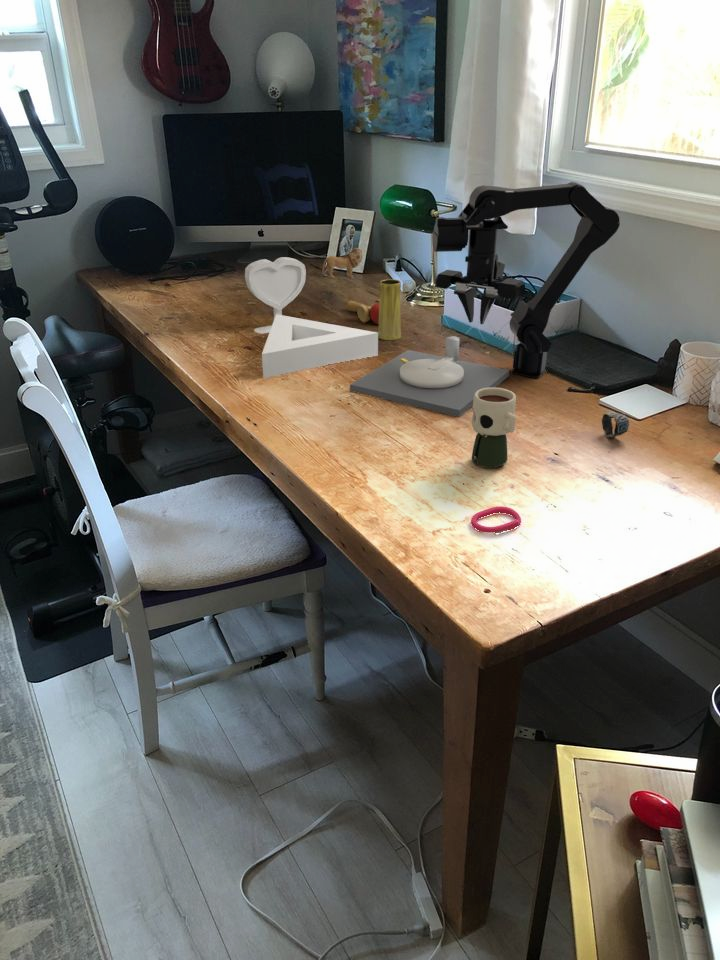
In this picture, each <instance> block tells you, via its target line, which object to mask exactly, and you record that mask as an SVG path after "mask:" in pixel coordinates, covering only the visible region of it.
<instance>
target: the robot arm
mask: <svg viewBox="0 0 720 960" xmlns="http://www.w3.org/2000/svg"><path fill="white" fill-rule="evenodd" d="M569 205H570V206H571V208H573V210H574V212H575V213H576V214H577V215H578V216H579V217H580V218H581V219H580V220H579V222H578V224H577V226H576V230H575V235H574V238H573V241H572V242H571V243H570V245H569V247H568V248H567V250H566V251H565V253H564V254H563V255H562V257H561V258H560V260H559V261H558V262H557V264H556V266H555V267H554V269H553V270H552V271H551V273H550V274H549V276H547V278H546V280H545V281H544V283H543V284H542V286H541V287H540V288H539V290H538V291H537V293H536V294H535V296H534V297H533V298H531V299H530V300H529V301H528V302H525V301H524V300H519V303H518V304H517V307H516V309H515V310H513V312H511V313H510V316H511V318H510V319H509V330H510V332H511V333H512V334H513V335H514V336H515V338H516V340H517V341H518V342H519V343H518V344H517V345H516V350H514V351H513V358H512V359H513V360H512V370H511V374H515V375H520V376H524V377H527V378H533V379H539V378H540V377H541V376H543V375H544V374H545V373H546V372H547V371H546V369H545V367H546V368H547V357H548V352H549V350H550V348H551V346H552V345H553V344H552V342H551V341H550V339H548V338H547V336H546V335H545V334H544V332H545V330H546V328H547V326H548V323H549V319H550V317H551V311H552V310H553V308H554V307H555V305H556V304H557V303H558V301H559V300H560V299H561V297H562V296H563V294H564V292H566V290H567V288H568V287H569V286H570V285H571V283H572V281H573V280H574V279H575V278H576V276H577V274H579V272H580V270H581V269H582V268H583V266H584V265H585V263H586V262H587V260H588V259H589V257H590V256H591V254H593V253H594V252H595V251H597V250H598V249H600V248H601V247H602V246H604V245H605V244H607V242H608V241H609V240H610V239H611V238H612V237H613V236H614V235H615V234H616V232H618V230H619V228H620V226H621V223H620V216H619V214H618V213H617V212H616V210H614V209H611V208H609V207H607V206H605V205H603V204H602V203H601V202H600V201H598V199H597V198H595V197H594V196H593V195H592V194H591V193H590V192H589V191H588V190H587V188H586V186H584V185H582V184H580V183H578V182H576V181H572V182H571V181H570V182H568V183H561V184H552V185H541V186H531V187H523V188H522V187H521V188H507V187H501V186H493V185H479V186H477V187H475V188H474V189H473V190H472V192H471V194H470V195H469V199H468V202H467V204H466V206H465V207H463V209H462V211H461V212H460V213H459V215H458V217H444V216H437V217H435V224H434V227H433V231H432V235H431V236H432V238H431V239H432V240H431V241H432V248H433V251H434V253H436V252H437V253H439V252H440V253H441V252H443V253H444V252H462V251H463V249H466V247H467V246H468V250H467V256H465V257H464V258H465V260H464V261H465V262H466V263H467V265H466V275H464V276H463V273H462V271H460V270H453V269H446V270H444V271H442V272H440V273H438V274H437V275H436V276H435V280H434V287H435V288H439V289H445V290H448V289H449V288H450V287H451V286H452V285H455V290H453V294H454V295H457V297H458V299H459V301H460V302H461V304H462V307H463V310H464V312H465V315H466V318H467V320H468V322H469V323H473V322H474V315H475V295H476V291H477V289H481V290H482V289H483V290H485V293H484V294H482V295H481V296H480V308H479V309H480V310H479V311H480V314H479V322H480V323H479V324H480V325H484V324H485V321H486V320H487V317H488V315H489V312H490V311H491V308H492V306H493V304H494V303H495V300H497V299H498V298H504V299H508V300H509V299H510V300H516V299H517V298H519V297H521V296H522V295H524V294H525V291H526V285H525V284H526V283H525V282H524V280H522V279H516V278H510V277H509V278H507V277H506V279H504V280H503V277H504V272H505V271H504V270H505V268H506V267H505V266H506V264H505V263H503V262H501V261H499V259H498V258H499V255H498V254H497V253H496V252H497V251H496V249H497V240H498V230H507V229H508V228H509V226H508V225H507V224H506V223H505V222H504V221H503V220H504V219H503V218H502V217H503V216H505V215H508V214H510V213H512V212H515V211H519V210H529V209H538V208H548V207H558V206H569ZM498 279H499V280H502V281H496V280H498Z"/></svg>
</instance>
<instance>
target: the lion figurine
mask: <svg viewBox="0 0 720 960" xmlns="http://www.w3.org/2000/svg"><path fill="white" fill-rule="evenodd" d="M362 260H363V249H361V248H358V247H354V248H352V249H351V250H350V251H349V252H348V253H346V254H345V255H344V256H342V257H338V256H334V255H333V256H331V255H330V256H328V257H326V258H325V260H324V262H323V265H322V271H321V273H320V274H319V275H318V277H322V276H323V277H327V276H328V274H329V275H330V278H331V279H336V276H335V275H333V272H334V269H335V268H337V269H340V270H341V269H346V276H348V277H349V278H351V279H354V278H355V276H354V275H353V271H354V268H357V267H358V266H359V265H360V264H361V262H362ZM328 270H329V271H328ZM327 271H328V274H327Z"/></svg>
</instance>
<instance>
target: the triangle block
mask: <svg viewBox="0 0 720 960" xmlns="http://www.w3.org/2000/svg"><path fill="white" fill-rule="evenodd" d="M271 325H272V327H271V330H270V333H268V336H267V338H266V341H265V343H264V346H263V349H262V352H261V362H262V364H261V365H262V374H263V375H262V377H263V379H268V378H272V377H271V376H273V377H277V376H276V375H278V376H281V374H283V375H287V374H286V373H288V374H292V373H291V372H293V373H297V372H296V371H298V372H301V371H300V370H303V371H307V370H306V369H308V370H311V369H310V368H313V369H316V368H315V367H319V368H321V367H320V366H324V365H328V364H334V363H339V364H341V363H340V362H344V363H346V362H345V361H349V362H351V361H350V360H354V361H357V360H356V359H359V360H363V359H362V358H364V359H368V358H367V357H369V358H372V357H373V356H374V357H378V356H379V338H378V332H377V331H371V330H366V329H360V328H355V327H353V328H352V327H349V326H343V325H338V324H333V323H332V324H331V323H325V322H322V321H316V320H310V319H305V318H298V317H293V316H290V315H289V316H287V315H284V314H282V315H278V314H276V316H275V319H274V318H273V322H272V324H271ZM334 365H335V364H334ZM324 367H325V366H324ZM267 377H268V378H267Z"/></svg>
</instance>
